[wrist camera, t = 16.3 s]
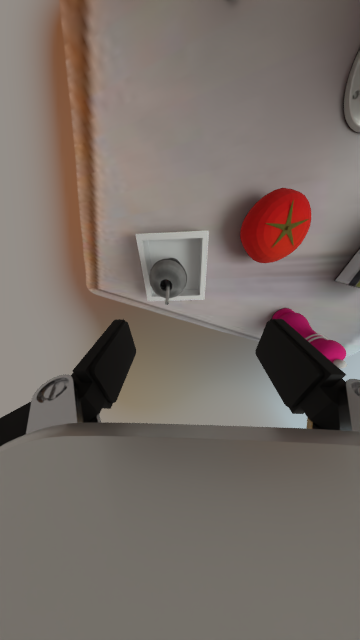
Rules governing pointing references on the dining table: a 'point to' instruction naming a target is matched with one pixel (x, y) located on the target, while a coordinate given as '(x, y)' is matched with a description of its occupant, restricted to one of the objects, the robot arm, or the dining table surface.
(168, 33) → the dining table surface
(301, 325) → the pepper mill
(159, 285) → the beverage cup
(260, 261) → the tomato
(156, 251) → the box
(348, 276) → the tea box
